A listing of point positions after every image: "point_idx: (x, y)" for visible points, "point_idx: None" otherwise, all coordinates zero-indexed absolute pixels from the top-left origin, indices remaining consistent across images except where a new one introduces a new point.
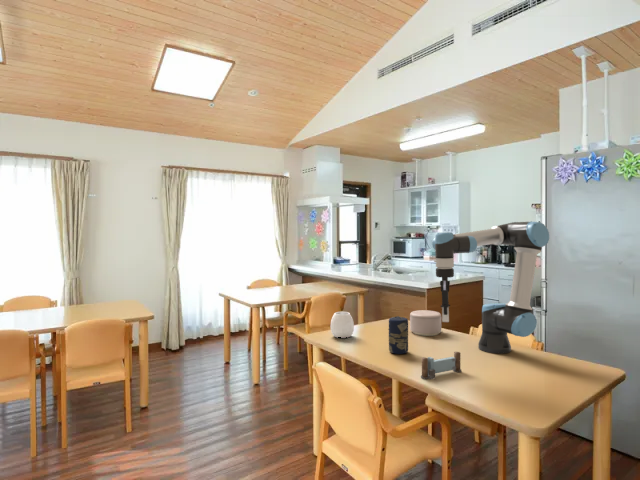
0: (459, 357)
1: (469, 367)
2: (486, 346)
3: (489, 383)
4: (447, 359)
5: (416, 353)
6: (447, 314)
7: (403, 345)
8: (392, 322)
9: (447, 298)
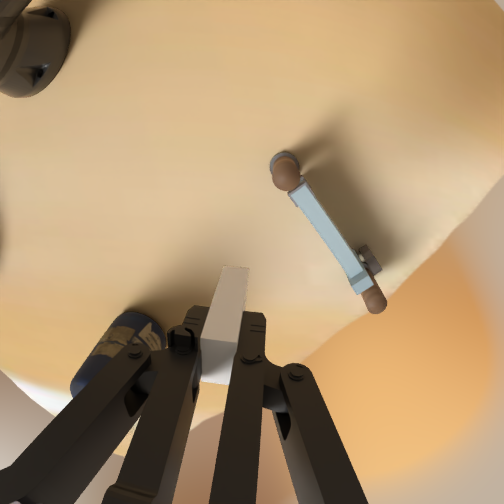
0: (296, 166)
1: (232, 119)
2: (47, 67)
3: (383, 85)
4: (328, 217)
5: (131, 285)
6: (243, 308)
7: (150, 340)
8: None
9: (340, 447)
